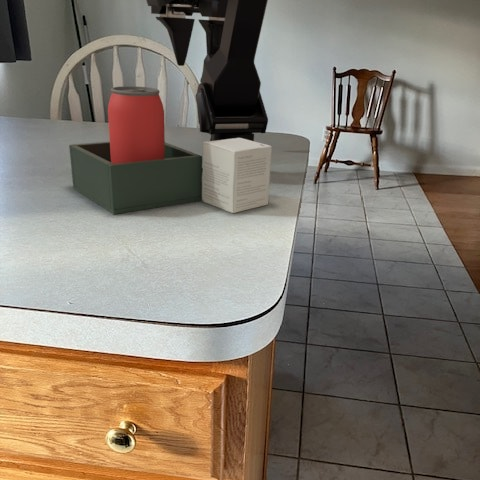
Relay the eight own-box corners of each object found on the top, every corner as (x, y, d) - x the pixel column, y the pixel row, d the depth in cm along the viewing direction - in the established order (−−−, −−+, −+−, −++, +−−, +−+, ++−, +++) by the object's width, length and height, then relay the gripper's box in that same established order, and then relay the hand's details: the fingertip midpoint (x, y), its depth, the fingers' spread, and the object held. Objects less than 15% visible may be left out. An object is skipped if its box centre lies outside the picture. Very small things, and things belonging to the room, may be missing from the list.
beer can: (173, 188, 71) (173, 89, 65) (151, 201, 65) (148, 94, 59) (128, 181, 72) (123, 84, 66) (102, 194, 67) (95, 89, 61)
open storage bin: (201, 200, 68) (202, 156, 66) (113, 214, 62) (110, 165, 59) (155, 178, 77) (154, 137, 74) (73, 188, 70) (68, 144, 67)
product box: (237, 194, 72) (240, 136, 68) (269, 205, 68) (274, 145, 64) (200, 201, 68) (201, 141, 64) (232, 214, 64) (235, 150, 61)
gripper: (118, -52, 82) (124, 62, 89) (183, -59, 69) (183, 74, 77) (182, -43, 88) (181, 63, 95) (252, -49, 75) (245, 74, 83)
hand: (195, 68), depth 87 cm, fingers open, 9 cm apart
